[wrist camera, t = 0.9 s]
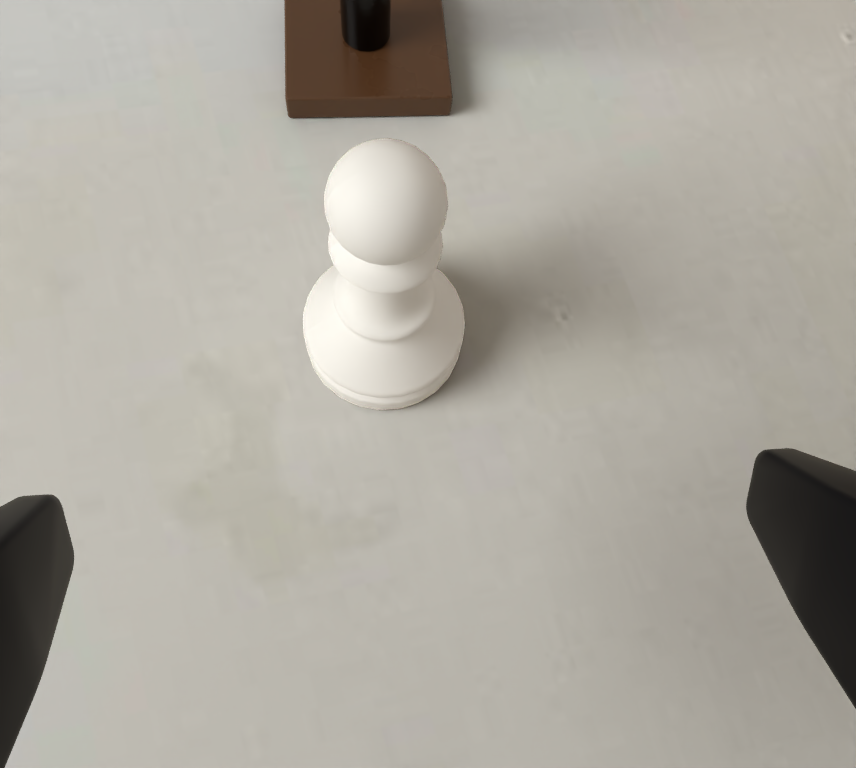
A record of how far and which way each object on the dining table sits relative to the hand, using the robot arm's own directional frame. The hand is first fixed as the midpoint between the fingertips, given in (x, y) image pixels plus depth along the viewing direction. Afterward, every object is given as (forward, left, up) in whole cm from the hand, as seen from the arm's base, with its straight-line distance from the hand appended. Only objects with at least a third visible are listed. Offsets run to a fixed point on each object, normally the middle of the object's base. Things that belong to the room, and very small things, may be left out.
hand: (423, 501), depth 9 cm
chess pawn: (+6, -5, -13) cm, 15 cm away
